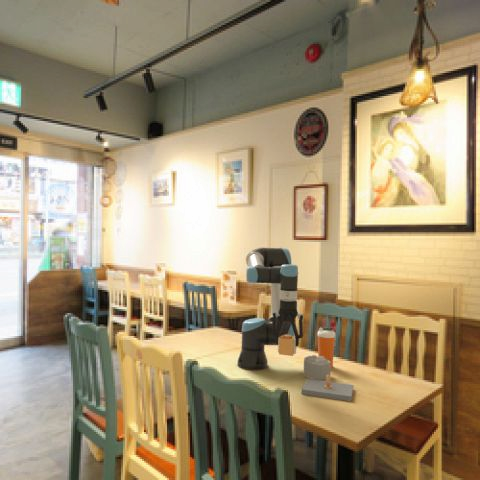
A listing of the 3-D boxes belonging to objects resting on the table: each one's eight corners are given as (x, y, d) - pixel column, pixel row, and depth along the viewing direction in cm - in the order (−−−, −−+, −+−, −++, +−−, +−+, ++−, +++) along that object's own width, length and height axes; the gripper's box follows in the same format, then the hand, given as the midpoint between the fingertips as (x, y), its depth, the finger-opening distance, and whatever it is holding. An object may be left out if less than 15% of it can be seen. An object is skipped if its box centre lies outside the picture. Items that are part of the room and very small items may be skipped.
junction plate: (301, 394, 168) (302, 377, 168) (307, 383, 182) (307, 367, 182) (351, 401, 162) (351, 383, 162) (353, 389, 175) (353, 373, 175)
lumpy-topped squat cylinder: (317, 381, 185) (317, 362, 185) (298, 372, 196) (298, 354, 196) (333, 377, 191) (333, 358, 191) (314, 369, 202) (314, 352, 202)
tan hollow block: (278, 354, 176) (279, 336, 176) (281, 350, 181) (282, 333, 181) (292, 355, 174) (292, 337, 174) (295, 352, 179) (295, 334, 180)
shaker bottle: (334, 370, 202) (335, 329, 202) (316, 368, 203) (317, 328, 203) (334, 364, 210) (335, 326, 210) (316, 363, 212) (317, 325, 212)
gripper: (265, 299, 177) (263, 352, 177) (308, 302, 171) (307, 357, 171) (269, 297, 184) (268, 348, 184) (311, 300, 178) (310, 352, 178)
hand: (287, 352), depth 178 cm, fingers closed on tan hollow block, 6 cm apart
